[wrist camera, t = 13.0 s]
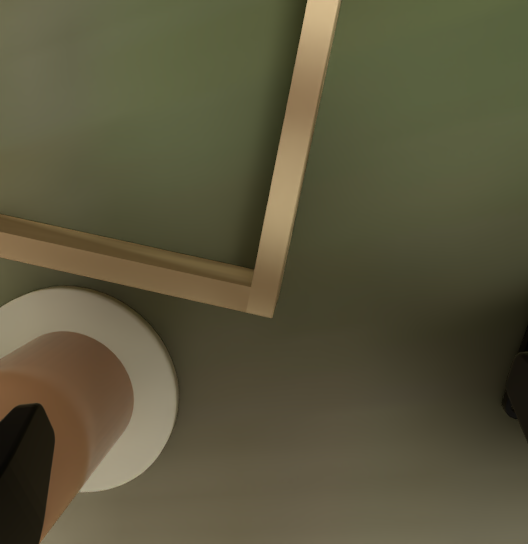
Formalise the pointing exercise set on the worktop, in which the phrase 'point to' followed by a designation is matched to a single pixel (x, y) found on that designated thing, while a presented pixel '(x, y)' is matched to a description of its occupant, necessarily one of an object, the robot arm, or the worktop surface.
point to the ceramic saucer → (129, 350)
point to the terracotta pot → (70, 405)
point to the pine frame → (189, 269)
